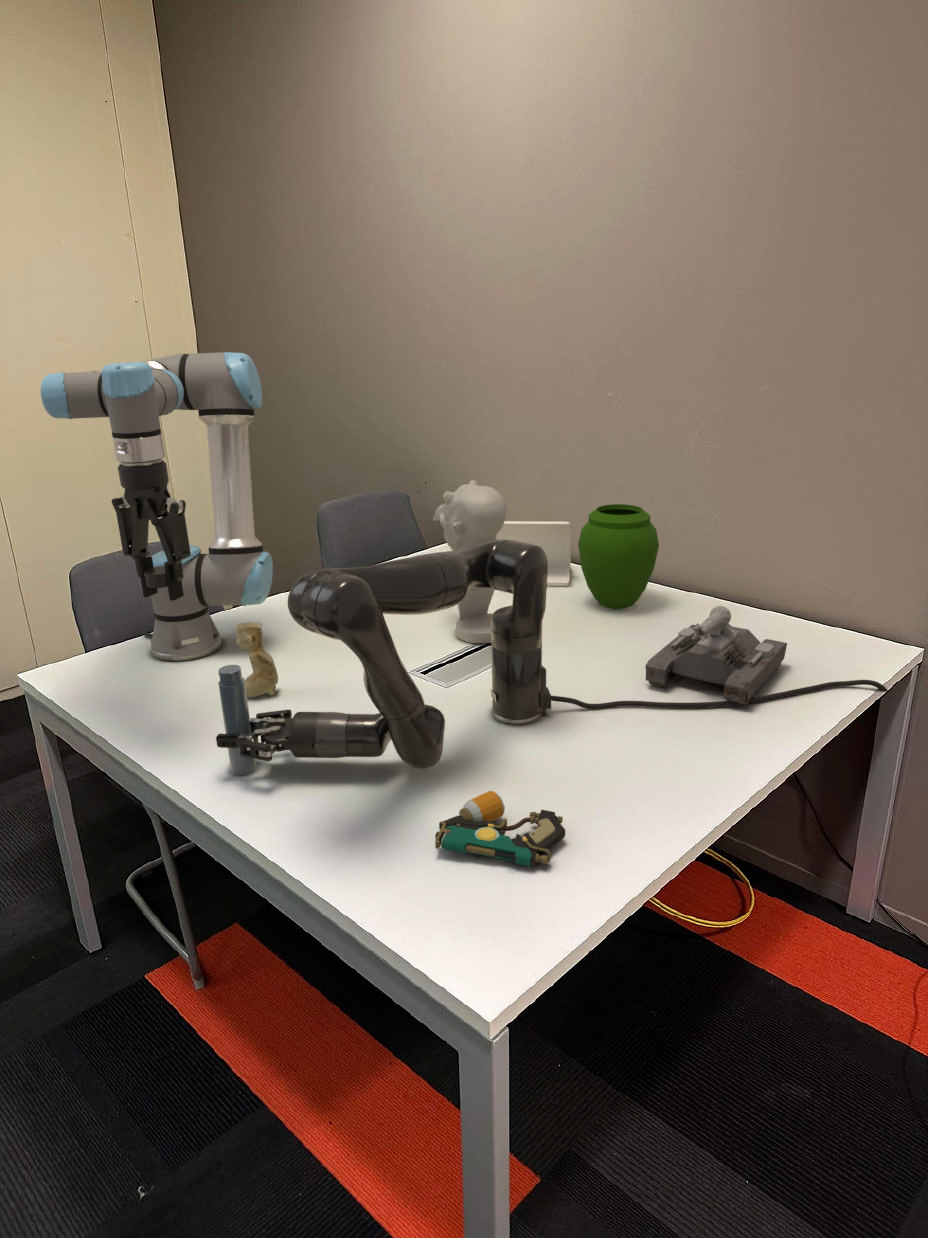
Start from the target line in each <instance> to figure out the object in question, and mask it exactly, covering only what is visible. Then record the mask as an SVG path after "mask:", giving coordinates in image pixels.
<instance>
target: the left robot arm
mask: <svg viewBox="0 0 928 1238" xmlns="http://www.w3.org/2000/svg"><path fill="white" fill-rule="evenodd" d="M40 397H41V402H42V405H43V408H44V410H45V411H46V413H47V414H48V415H49V416H50V417H52V418H54V419H68V420H72V419H73V420H74V419H97V418H108V419H109V425H110V430H111V437H112V442H113V447H114V454H115V458H116V459H115V460H116V461H117V462H118V463H119V464H118V466H117V472H118V476H119V482H120V486H121V487H122V488H123V489H124V493H123V495H121V496H118V497H114V498H112V499H111V505H112V507H113V509H114V511H115V514H116V519H117V520H116V521H117V525H118V533H119V536H120V544H121V549H122V553H123V555H124V556H127V557H128V556H129V557H131V558H132V560H134V563H135V569H136V570H135V571H136V573H137V575H136V576H137V577H138V578H140V584H141V589H142V595H143V598H151V603H152V609H153V615H154V626H153V631H152V633H150V632H147V631H144V632H143V636H144V637H147V638H150V639H151V642H150V650H151V654H152V656H153V657H154V658H156V659H158V660H162V661H169V662H181V661H190V660H195V659H200V658H203V657H206V656H208V655H211V654H213V653H215V652H216V651H218V650H219V649H220V648H221V646H222V638H221V637H222V636H221V634H220V632H219V630H218V628H217V626H216V624H215V622H214V621H213V619H212V616H211V615H210V612H209V607H222V606H223V607H224V606H242V607H246V606H255V605H261V604H263V603H264V602H265V601H266V600H267V598H268V596H269V594H270V591H271V587H272V582H273V575H274V564H273V563H274V562H273V557H272V554H271V553H270V552H268V551H264V545H263V542H261V540H260V539H258V538H257V537H256V532H255V531H256V529H255V514H254V500H253V497H254V496H253V486H252V485H253V481H252V468H251V466H252V465H251V451H250V437H249V436H250V434H249V426H250V424H251V423H252V422H253V421H254V420H255V410H259V409H261V407H262V405H263V389H262V383H261V379H260V375H259V372H258V369H257V367H256V365H255V363H254V361H253V359H252V358H251V357H250V356H249V355H248V354H247V353H243V352H232V351H231V352H230V351H224V352H223V351H222V352H203V353H202V352H201V353H199V352H198V353H176V354H170V355H165V356H161V357H156V358H152V359H148V360H140V361H126V362H116V363H108V364H105V365H104V366H103V367H102V369H100V370H89V371H80V372H79V371H78V372H64V371H63V372H58V373H56V372H55V373H49V374H46V375H45V376H44V377H43V379H42V381H41V384H40ZM175 410H179V411H197V412H198V419H199V420H200V421H201V422H202V423H203V424H204V425H205V426H206V430H207V431H206V433H207V447H208V459H209V460H208V461H209V473H210V489H211V502H212V503H211V504H212V515H213V516H212V517H213V530H214V539H213V540H212V541H211V542H210V544H208V545H207V546H208V547H207V548H208V553H202V550H201V549H200V547H199V546H198V545H193V544H190V540H189V533H188V527H187V522H186V521H187V520H186V514H185V513H186V506H187V502H186V501H185V500H184V499H180V500H177V499H175V498H173V497H172V495H171V493H170V492H169V490H168V485H169V481H170V479H169V471H168V466H167V462H165V460H163V459H165V458H166V452H165V446H164V445H165V444H164V441H163V440H164V439H163V434H162V427H161V421H160V420H161V419H160V417H163V416H167V415H169V414H171V413H172V412H174V411H175ZM150 523H151V525H152V526H154V528H155V530H156V533H157V536H158V538H159V541H160V544H161V547H162V550H161V551H159V552H156V553H154V554H153V555H151V552H149V551H148V550H149V548H148V547H149V526H150V525H149V524H150ZM150 555H151V556H150ZM158 566H164V567H165V573H166V579H167V585H168V587H164V588H149V587H147V586H146V583H145V577H144V575H145V574H144V571H145V570H147V569H149V568H153V567H158Z"/></svg>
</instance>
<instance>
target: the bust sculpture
mask: <svg viewBox="0 0 928 1238" xmlns="http://www.w3.org/2000/svg"><path fill="white" fill-rule="evenodd" d="M442 498H443V501H444V503H443V504H440V505H439V506H438V507H437V508H436V510H435V513H434V515H433V518H432V520H433V521H434V522H436V521H439V523H440V525H441V527H442V530H443V540H445V541H446V544H447V546H448V547H449V548H450V551H458V550H467V549H471V548H474V547H477V546H480V545H483V544H485V543H488V542H491V541H495V540H497V538H496V534H497V533H498V532H499V531H500V530H501V528H502V526H503V524H504V521H506V515H507V505H506V501H505V499H504V498H503V496H502V494H500V492H499V491H498V490H496V488H494V487H491V486H486V485H478V482H477V481H476V480H473V479H471V480H470V481H469V483H468V484H467V483H466V484H465V483H464V484H462V485H460V486H459V487H458V488H457V489H456V490H455V491H454V492H453V491H448V490H446V491H444V492H443V494H442ZM495 591H496V590H494V589H475V590H470V591H468V593H467V595H466V596H465V598H464V599H463V600H462V601H461V602H460V603H459V604H457V605H456V606H457V610H458V617H459V618H458V619H457V620H456V621H455V636H456V637H457V638H458V639H459V640H461V641H463V642H466V643H467V642H468V643H471V644H472V643H473V644H491V617H492V614H493V613H488V611H489V607H490V604H491V601H492V598H493V596H494V593H495Z"/></svg>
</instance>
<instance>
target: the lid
mask: <svg viewBox="0 0 928 1238" xmlns="http://www.w3.org/2000/svg"><path fill="white" fill-rule="evenodd" d="M144 574H145V575H144V577H145V583H146V586H147V587H149V588H164V587H168V585H167V579H166V573H165V567H164V566H158V567H153V568H149V569H147V570H145V571H144Z"/></svg>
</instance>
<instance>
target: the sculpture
mask: <svg viewBox="0 0 928 1238" xmlns="http://www.w3.org/2000/svg"><path fill="white" fill-rule="evenodd" d="M262 627H263V625H262V623H261V622H257V621H248V622H242V623H238V624H237V625H236V627H235V632H236V633H235V636H236V639H235V644H236V645H237V646H239V647H240V649H241V650H242V651H247V653H248V658H249V662H250V666H251V669H252V673H251V674H249V675H248V676H247V677H246V678H244V679H245V686H246V694H247V698H254V697H258V696H261V695H264V694H268V696H273V695H275V693H276V690H277V684H278V681H279V675H278V670H277V667H276V664H275V661H274V658H273V657H272V655H271V654H270V653H269V652H268V651H267V650H266V649H265V648H264V645H263V630H262V629H263V628H262Z"/></svg>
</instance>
